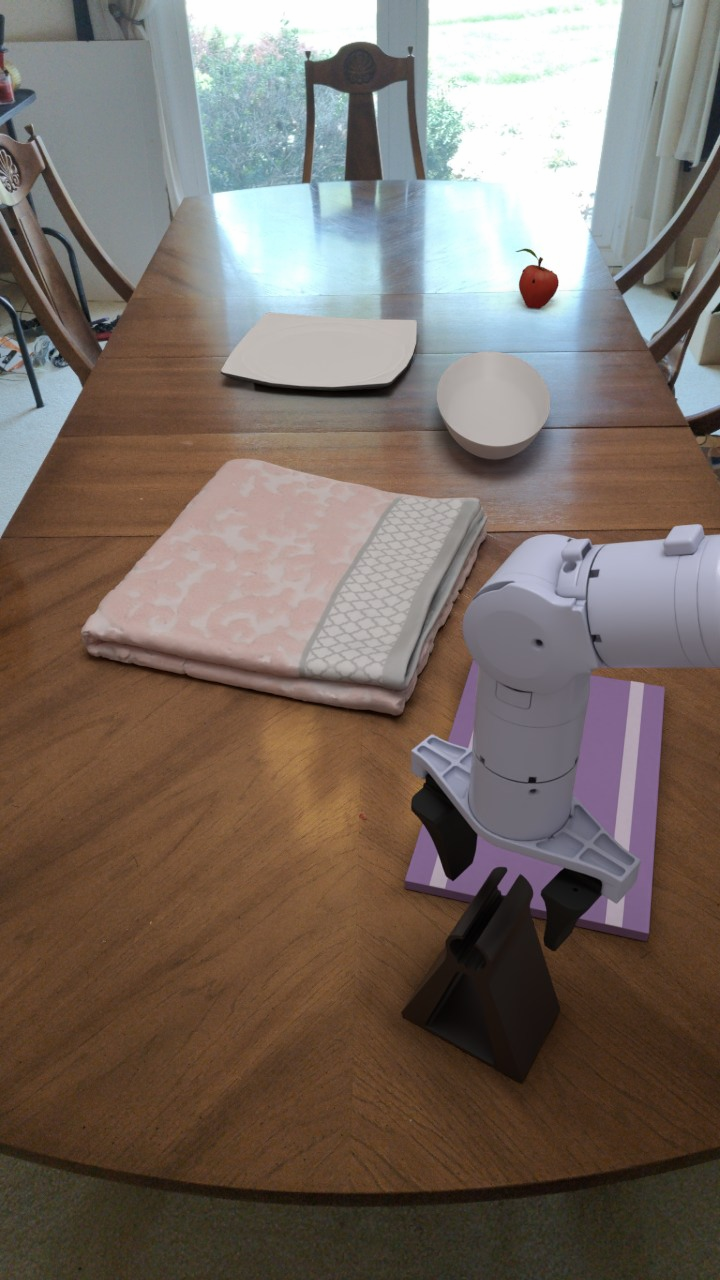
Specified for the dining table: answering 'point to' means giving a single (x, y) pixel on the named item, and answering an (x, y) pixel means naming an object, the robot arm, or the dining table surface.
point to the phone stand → (490, 982)
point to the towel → (295, 587)
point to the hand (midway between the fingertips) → (507, 902)
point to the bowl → (493, 403)
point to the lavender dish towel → (605, 785)
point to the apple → (537, 284)
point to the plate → (323, 352)
